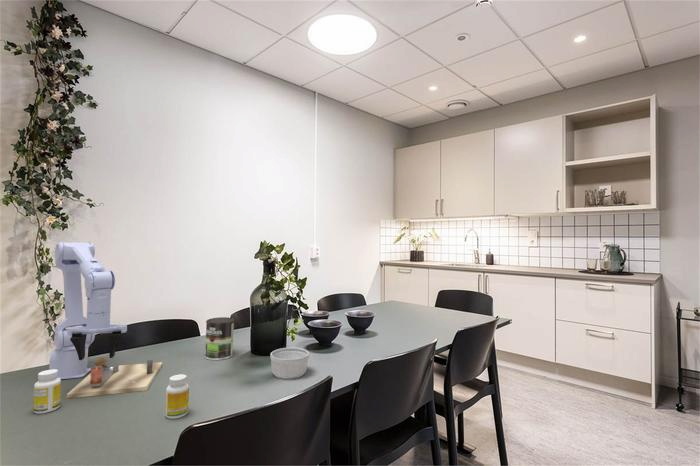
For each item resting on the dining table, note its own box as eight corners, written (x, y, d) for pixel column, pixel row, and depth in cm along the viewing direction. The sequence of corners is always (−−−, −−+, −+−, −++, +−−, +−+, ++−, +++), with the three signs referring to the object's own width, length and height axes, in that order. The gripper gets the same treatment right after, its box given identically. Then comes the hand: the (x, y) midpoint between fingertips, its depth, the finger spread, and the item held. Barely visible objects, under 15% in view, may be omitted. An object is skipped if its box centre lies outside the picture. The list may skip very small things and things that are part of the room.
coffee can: (223, 361, 131) (224, 323, 131) (199, 359, 133) (200, 321, 134) (238, 353, 141) (239, 318, 141) (215, 350, 143) (216, 316, 144)
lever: (106, 369, 117) (107, 352, 117) (120, 368, 118) (120, 351, 118) (86, 389, 101) (86, 369, 101) (102, 387, 102) (102, 368, 103)
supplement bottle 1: (57, 402, 96) (59, 366, 96) (62, 408, 93) (63, 371, 93) (31, 409, 92) (32, 372, 92) (35, 416, 88) (36, 377, 89)
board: (66, 398, 98) (67, 379, 99) (97, 370, 119) (97, 354, 120) (146, 390, 105) (147, 372, 105) (162, 365, 125) (162, 350, 126)
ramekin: (314, 369, 125) (314, 349, 125) (299, 383, 112) (299, 361, 112) (280, 364, 128) (281, 345, 129) (262, 378, 116) (263, 357, 116)
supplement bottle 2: (162, 414, 91) (163, 376, 91) (183, 407, 94) (184, 371, 95) (169, 421, 87) (171, 382, 87) (191, 414, 91) (192, 377, 91)
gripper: (63, 315, 98) (61, 364, 97) (122, 313, 102) (120, 360, 102) (74, 311, 105) (72, 356, 104) (129, 309, 109) (128, 352, 109)
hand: (97, 358), depth 103 cm, fingers open, 7 cm apart
